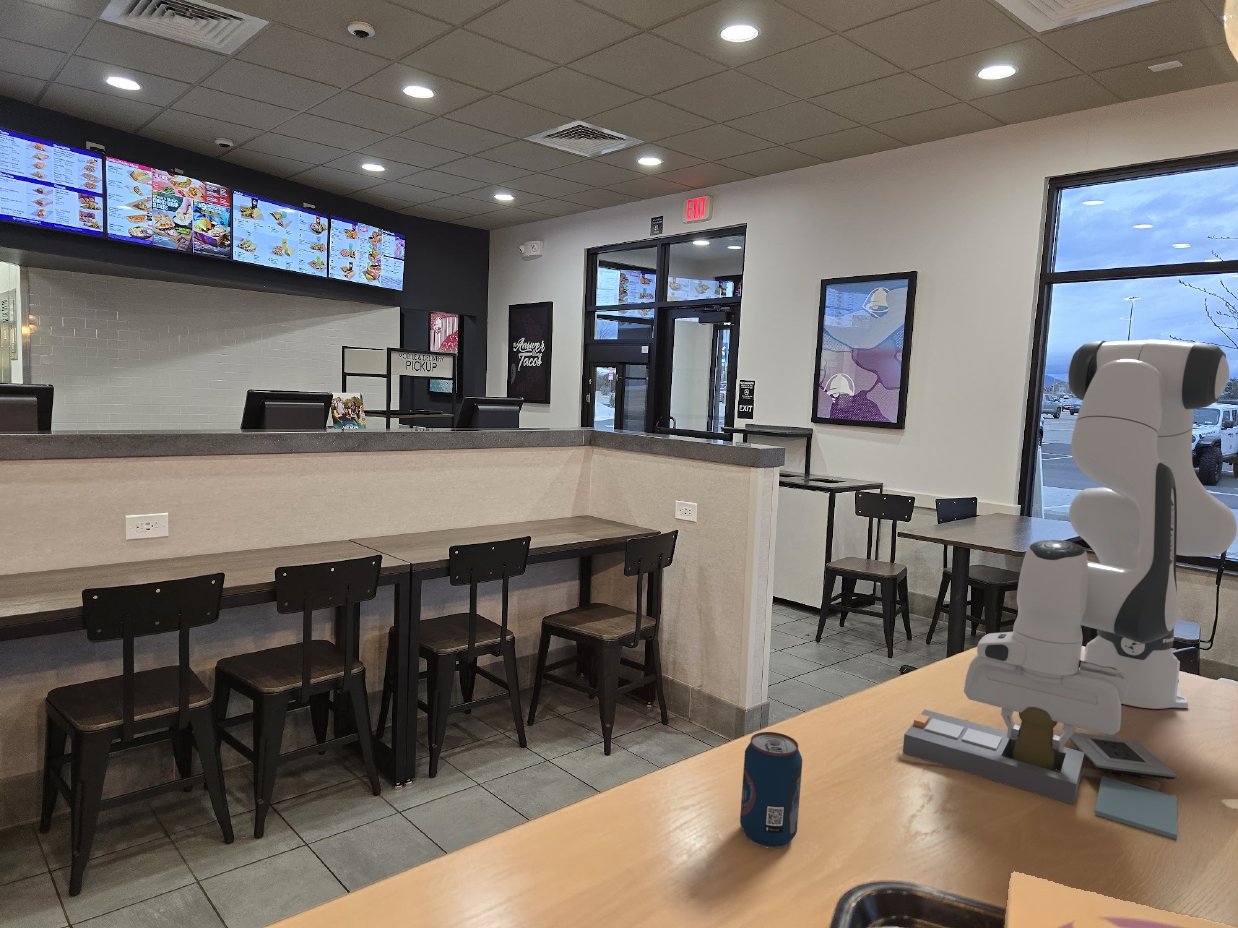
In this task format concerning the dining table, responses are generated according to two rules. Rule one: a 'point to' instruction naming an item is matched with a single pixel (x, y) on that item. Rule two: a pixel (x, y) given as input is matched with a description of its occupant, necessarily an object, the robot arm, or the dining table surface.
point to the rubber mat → (1137, 807)
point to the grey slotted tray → (990, 755)
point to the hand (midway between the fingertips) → (1035, 743)
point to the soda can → (771, 789)
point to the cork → (1035, 738)
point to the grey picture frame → (1121, 756)
